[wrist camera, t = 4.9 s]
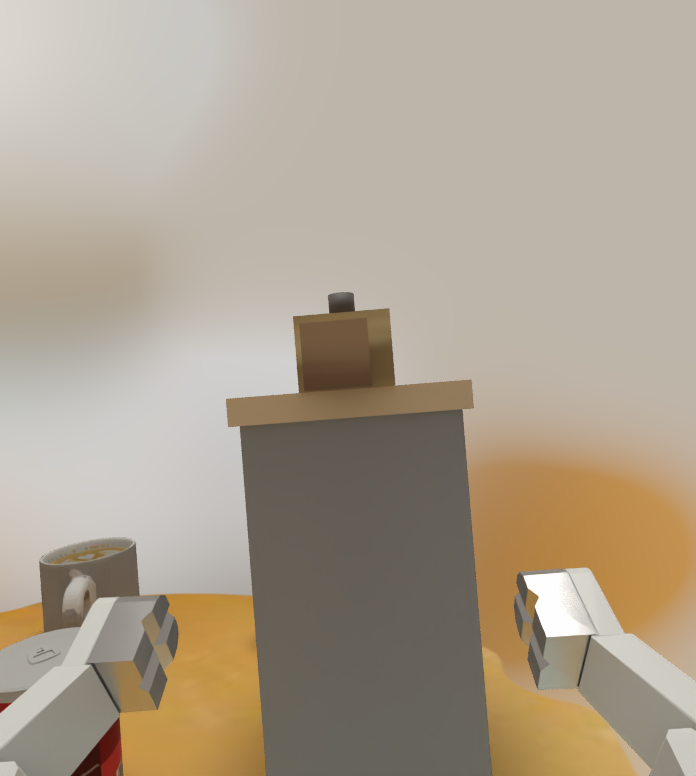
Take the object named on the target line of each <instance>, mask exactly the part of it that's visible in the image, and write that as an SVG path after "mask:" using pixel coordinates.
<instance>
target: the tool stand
mask: <svg viewBox="0 0 696 776" xmlns="http://www.w3.org/2000/svg"><path fill="white" fill-rule="evenodd" d="M226 405H227V418H228V427H234V426H235V427H236V426H240V434H241V447H242V460H243V474H244V486H245V498H246V513H247V526H248V539H249V552H250V566H251V579H252V592H253V605H254V618H255V632H256V645H257V658H258V671H259V684H260V697H261V710H262V724H263V737H264V750H265V763H266V776H492V769H491V757H490V745H489V732H488V720H487V708H486V695H485V683H484V671H483V658H482V646H481V633H480V621H479V609H478V597H477V584H476V573H475V559H474V547H473V536H472V522H471V510H470V498H469V486H468V473H467V461H466V448H465V436H464V423H463V411H462V409H471V408H474V405H473V393H472V382H471V380H461V381H449V382H436V383H423V384H410V385H398V386H385V387H372V388H359V389H347V390H334V391H321V392H309V393H296V394H283V395H271V396H258V397H245V398H233V399H226Z"/></svg>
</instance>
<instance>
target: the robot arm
mask: <svg viewBox="0 0 696 776" xmlns="http://www.w3.org/2000/svg"><path fill="white" fill-rule="evenodd" d="M517 586H518V589H519V593H518V594H517V595H516V596H515V603H514V609H515V619H516V623H517V627H518V631H519V635H520V638H521V640H522V641H523V642H524V643H525V644H526V645H527V646H528V647H529V652H528V662H529V665H530V668H531V671H532V674H533V677H534V680H535V683H536V686H537V689H538V690H546V689H578V691H579V692H580V693H581V694H582V696H583V697H584V698H585V699H586V700H587V701H588V702H589V703H590V704H591V705H592V706H593V707H594V708H595V709H596V711H597V712H598V713H599V714H600V715H601V716H602V717H603V718H604V719H605V720H606V721H607V722H608V723H609V724H610V725H611V726H612V728H613V729H614V730H615V731H616V732H617V733H618V734H619V735H620V736H621V737H622V738H623V739H624V740H625V741H626V742H627V743H628V745H629V746H630V747H631V748H632V749H633V750H634V751H635V752H636V753H637V754H638V755H639V756H640V757H641V758H642V759H643V760H644V762H646V764H647V765H648V766H649V767H650V768H651V769H652V770H651V772H650V775H649V776H696V682H695V681H694V680H693V679H691V678H690V677H689V676H688V675H686V674H685V673H684V672H682V671H681V670H679V669H678V668H677V667H676V666H674V665H673V664H672V663H670V662H669V661H668V660H666V659H665V658H664V657H662V656H661V655H660V654H658V653H657V652H656V651H654V650H653V649H652V648H650V647H649V646H648V645H646V644H645V643H644V642H643V641H641V640H640V639H638V638H637V637H636V636H635V635H633V634H625V633H624V631H623V629H622V627H621V626H620V624H619V622H618V620H617V618H616V616H615V614H614V612H613V611H612V609H611V607H610V605H609V603H608V601H607V600H606V598H605V596H604V594H603V592H602V590H601V588H600V587H599V584H598V583H597V581H596V579H595V577H594V575H593V573H592V572H591V571H590V570H589V569H588V568H574V569H552V570H539V571H526V572H519V574H518V575H517ZM168 607H169V602H168V600H167V598H166V596H165V595H159V596H130V597H108V598H99V599H98V600H96V601H95V602H94V603H93V605H92V606H91V608H90V610H89V612H88V614H87V616H86V618H85V620H84V622H83V624H82V626H81V628H80V630H79V632H78V634H77V635H76V637H75V639H74V641H73V643H72V645H71V647H70V649H69V651H68V653H67V655H66V657H65V659H64V661H63V663H62V665H61V666H55V667H53V668H52V669H51V670H50V671H49V672H47V673H46V674H45V675H44V676H43V677H42V678H41V679H39V680H38V681H37V682H36V683H35V684H34V685H32V686H31V687H30V688H29V689H28V690H27V691H26V692H24V693H23V694H22V695H21V696H20V697H19V698H17V699H16V700H15V701H14V702H13V703H12V704H11V705H9V706H8V707H7V708H6V709H5V710H4V711H2V712H1V713H0V776H71V775H72V773H73V772H74V771H75V770H76V768H77V767H78V766H79V765H80V764H81V762H82V761H83V760H84V759H85V758H86V756H87V755H88V754H89V753H90V751H91V750H92V749H93V748H94V747H95V745H96V744H97V743H98V742H99V741H100V739H101V738H102V737H103V736H104V734H105V733H106V732H107V731H108V730H109V728H110V727H111V726H112V725H113V723H114V722H115V721H116V720H117V719H118V717H119V716H120V714H119V713H126V712H138V711H150V710H158V707H159V704H160V701H161V698H162V694H163V691H164V688H165V685H166V682H167V677H166V675H165V672H164V669H165V668H166V667H167V666H168V665H169V664H170V663H171V662H172V661H173V660H174V656H175V653H176V649H177V643H178V626H177V622H176V620H175V617H174V616H172V615H171V614H169V613H168V612H167V610H168Z"/></svg>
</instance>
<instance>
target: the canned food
mask: <svg viewBox="0 0 696 776" xmlns="http://www.w3.org/2000/svg"><path fill="white" fill-rule="evenodd" d="M80 628H81V627H73V628H65V629H60V630H55V631H50V632H46V633H42V634H39V635H36V636H33V637H30V638H27V639H24V640H22V641H19V642H17V643H15V644H13V645H10V646H8V647H6V648H4V649H3V650H1V651H0V713H1V712H2V711H4V710H5V709H6V708H7V707H8V706H9V705H11V704H12V703H13V702H14V701H15V700H16V699H17V698H19V697H20V696H21V695H22V694H23V693H24V692H26V691H27V690H28V689H29V688H30V687H31V686H32V685H34V684H35V683H36V682H37V681H38V680H39V679H41V678H42V677H43V676H44V675H45V674H46V673H47V672H49V671H50V670H51V669H52V668H53V667H55V666H61V665H62V663H63V661H64V659H65V657H66V655H67V653H68V651H69V649H70V647H71V645H72V643H73V641H74V639H75V637H76V635H77V634H78V632H79V630H80ZM71 776H123V764H122V749H121V734H120V720H119V717H118V719H117V720H116V721H115V722H114V723H113V725H112V726H111V727H110V728H109V730H108V731H107V732H106V733H105V734H104V736H103V737H102V738H101V739H100V741H99V742H98V743H97V744H96V745H95V747H94V748H93V749H92V750H91V751H90V753H89V754H88V755H87V756H86V758H85V759H84V760H83V761H82V762H81V764H80V765H79V766H78V767H77V768H76V770H75V771H74V772H73V773H72V775H71Z"/></svg>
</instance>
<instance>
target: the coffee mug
mask: <svg viewBox="0 0 696 776" xmlns="http://www.w3.org/2000/svg"><path fill="white" fill-rule="evenodd" d="M40 578H41V591H42V606H43V620H44V633H46V632H50V631H55V630H60V629H65V628H73V627H81V626H82V624H83V622H84V620H85V618H86V616H87V614H88V612H89V610H90V608H91V606H92V605H93V603H94V602H95V601H96V600H98V599H99V598H108V597H130V596H139V583H138V570H137V555H136V544H135V541H134V540H133V539H131V538H124V537H116V538H115V537H114V538H102V539H95V540H89V541H84V542H80V543H75V544H71V545H68V546H64V547H61V548H58V549H56V550H53V551H51V552H49V553H47V554H45V555H44V556H42V557H41V559H40Z"/></svg>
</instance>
